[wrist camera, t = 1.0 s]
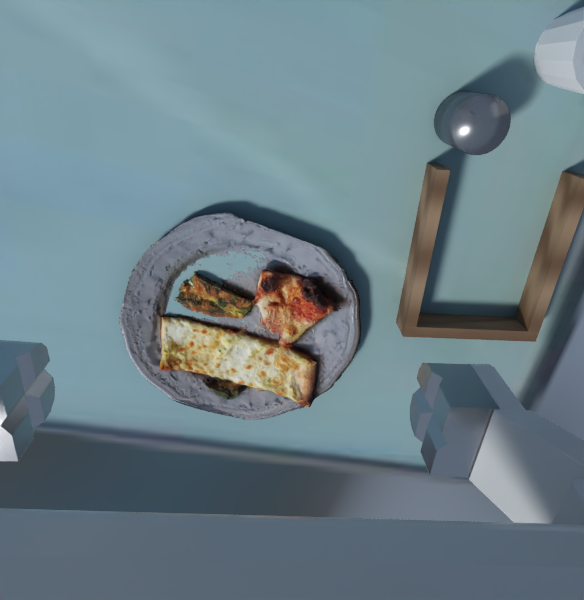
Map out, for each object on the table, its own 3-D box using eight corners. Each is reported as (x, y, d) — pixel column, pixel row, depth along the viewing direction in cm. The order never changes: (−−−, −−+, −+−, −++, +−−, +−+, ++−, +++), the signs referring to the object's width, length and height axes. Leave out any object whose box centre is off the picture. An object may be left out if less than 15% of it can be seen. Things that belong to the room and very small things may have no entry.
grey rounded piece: (440, 89, 40) (460, 92, 36) (490, 92, 40) (517, 96, 36) (429, 144, 42) (447, 153, 38) (477, 147, 43) (501, 156, 38)
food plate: (394, 268, 48) (401, 282, 45) (309, 427, 58) (310, 447, 55) (159, 179, 44) (149, 188, 40) (110, 367, 53) (99, 386, 50)
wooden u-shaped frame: (427, 163, 43) (437, 169, 40) (574, 172, 44) (593, 179, 41) (396, 322, 51) (403, 336, 48) (522, 327, 52) (535, 341, 49)
